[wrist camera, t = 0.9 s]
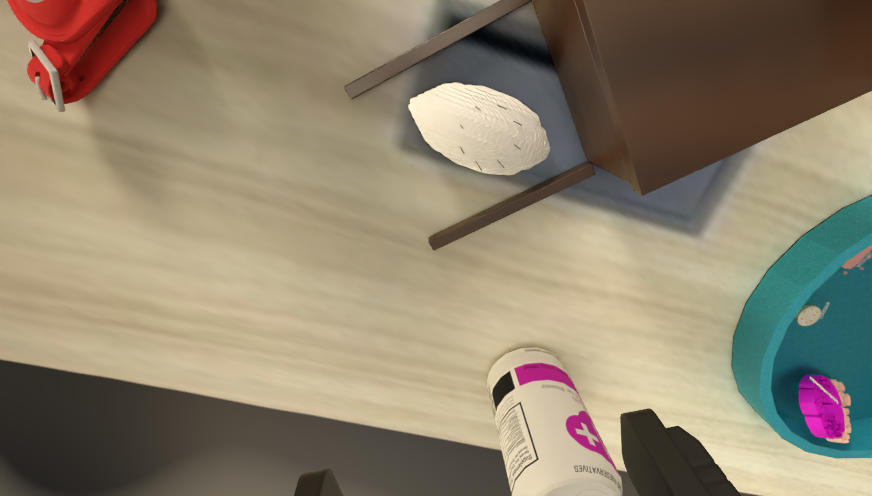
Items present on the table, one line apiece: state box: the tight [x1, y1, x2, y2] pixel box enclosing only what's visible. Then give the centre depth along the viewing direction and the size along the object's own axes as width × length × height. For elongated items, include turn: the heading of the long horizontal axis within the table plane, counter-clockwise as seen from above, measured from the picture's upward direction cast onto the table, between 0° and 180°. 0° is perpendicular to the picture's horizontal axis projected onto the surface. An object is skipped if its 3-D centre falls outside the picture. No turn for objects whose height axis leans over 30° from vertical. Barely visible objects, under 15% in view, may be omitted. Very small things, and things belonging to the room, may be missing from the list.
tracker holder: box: [8, 0, 157, 112], centre depth 28 cm, size 12×4×10 cm
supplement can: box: [487, 347, 622, 496], centre depth 37 cm, size 8×8×15 cm
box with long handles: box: [344, 0, 872, 250], centre depth 26 cm, size 15×32×14 cm, turn 116°
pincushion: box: [408, 82, 550, 175], centre depth 31 cm, size 12×6×6 cm, turn 70°
